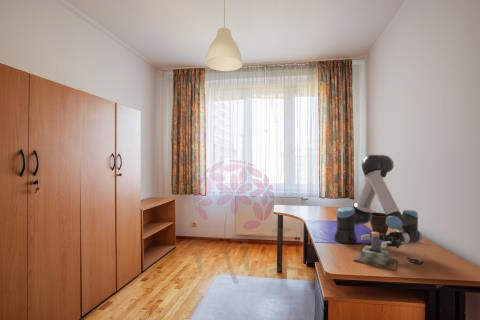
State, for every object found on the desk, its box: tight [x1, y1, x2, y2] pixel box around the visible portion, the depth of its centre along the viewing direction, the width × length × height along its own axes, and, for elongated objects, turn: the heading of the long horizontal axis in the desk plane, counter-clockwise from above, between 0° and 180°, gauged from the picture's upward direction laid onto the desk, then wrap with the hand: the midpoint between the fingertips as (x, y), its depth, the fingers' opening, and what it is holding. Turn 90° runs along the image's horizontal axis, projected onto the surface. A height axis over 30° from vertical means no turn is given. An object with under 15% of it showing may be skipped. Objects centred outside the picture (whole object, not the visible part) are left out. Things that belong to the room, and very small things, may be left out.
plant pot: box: [369, 212, 389, 235], centre depth 189 cm, size 15×15×16 cm
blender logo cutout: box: [406, 257, 424, 266], centre depth 139 cm, size 9×8×1 cm
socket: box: [352, 245, 398, 271], centre depth 138 cm, size 20×16×6 cm
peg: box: [370, 231, 380, 253], centre depth 138 cm, size 4×4×15 cm
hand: (371, 241), depth 137 cm, fingers open, 13 cm apart
